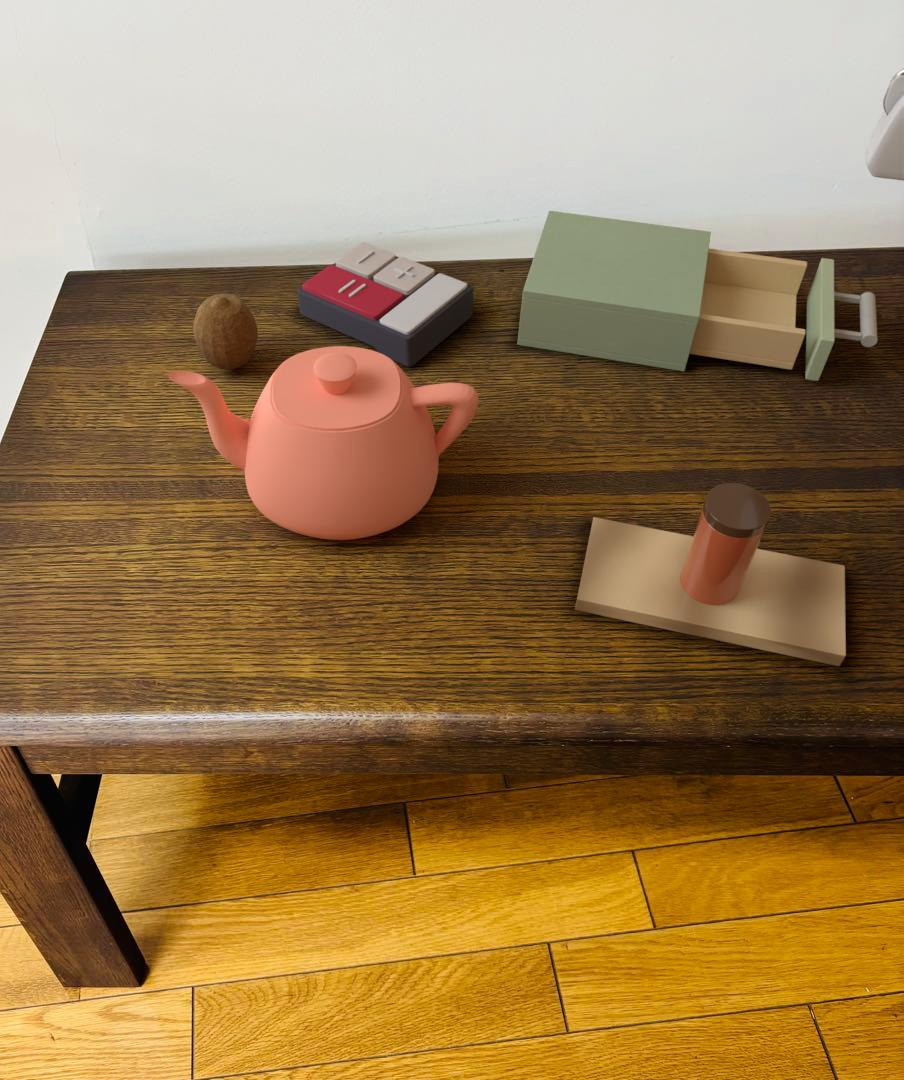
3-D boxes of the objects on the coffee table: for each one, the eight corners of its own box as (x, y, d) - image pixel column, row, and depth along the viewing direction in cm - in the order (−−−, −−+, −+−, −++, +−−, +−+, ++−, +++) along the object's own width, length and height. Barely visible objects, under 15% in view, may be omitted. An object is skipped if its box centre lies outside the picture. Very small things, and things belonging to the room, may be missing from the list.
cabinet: (696, 286, 107) (711, 231, 102) (684, 371, 98) (699, 316, 93) (542, 264, 110) (549, 210, 105) (517, 344, 101) (522, 290, 96)
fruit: (187, 367, 100) (173, 301, 94) (231, 336, 103) (220, 271, 97) (230, 393, 98) (219, 326, 92) (274, 360, 101) (266, 294, 95)
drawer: (863, 305, 102) (880, 265, 99) (866, 389, 94) (884, 348, 90) (666, 277, 106) (675, 238, 103) (652, 355, 98) (662, 315, 94)
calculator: (361, 236, 108) (475, 279, 101) (364, 270, 111) (474, 314, 104) (294, 284, 103) (408, 333, 96) (299, 318, 106) (410, 368, 99)
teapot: (182, 555, 84) (151, 440, 74) (204, 420, 95) (181, 303, 85) (478, 551, 84) (488, 434, 73) (467, 416, 95) (474, 298, 84)
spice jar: (741, 566, 80) (772, 489, 73) (737, 610, 77) (770, 535, 70) (682, 554, 81) (708, 477, 74) (677, 598, 78) (703, 522, 71)
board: (838, 576, 81) (845, 565, 80) (839, 667, 75) (846, 655, 74) (591, 528, 85) (593, 516, 84) (574, 610, 79) (577, 598, 78)
